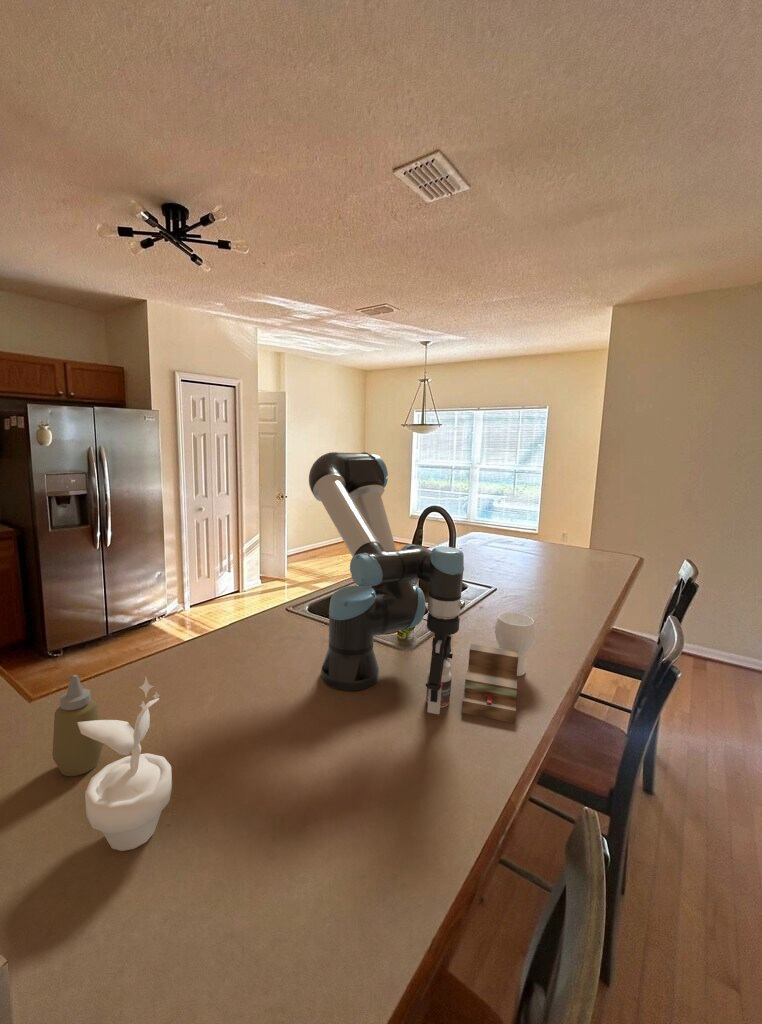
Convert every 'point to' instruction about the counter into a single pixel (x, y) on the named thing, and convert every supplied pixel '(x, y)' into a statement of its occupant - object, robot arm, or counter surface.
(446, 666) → the pill bottle
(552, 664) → the counter surface
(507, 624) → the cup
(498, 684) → the stand
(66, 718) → the squeeze bottle
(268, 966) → the counter surface
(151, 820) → the potted plant
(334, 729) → the counter surface
